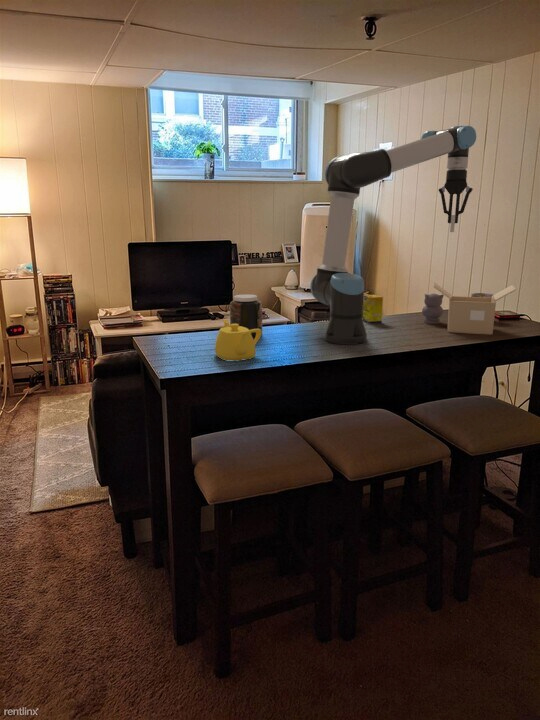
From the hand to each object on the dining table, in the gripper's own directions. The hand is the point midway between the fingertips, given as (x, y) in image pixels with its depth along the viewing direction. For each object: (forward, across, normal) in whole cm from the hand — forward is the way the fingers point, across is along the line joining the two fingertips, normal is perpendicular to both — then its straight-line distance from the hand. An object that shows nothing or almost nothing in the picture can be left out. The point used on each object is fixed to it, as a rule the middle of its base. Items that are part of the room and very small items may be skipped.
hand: (451, 231), depth 220 cm
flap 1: (+21, -2, -14) cm, 26 cm away
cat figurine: (+37, -5, -3) cm, 37 cm away
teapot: (+37, -65, -73) cm, 104 cm away
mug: (+37, +14, +9) cm, 40 cm away
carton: (+37, +9, -14) cm, 40 cm away
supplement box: (+37, -29, -8) cm, 48 cm away
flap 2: (+21, +20, -14) cm, 32 cm away
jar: (+37, -72, -45) cm, 93 cm away
